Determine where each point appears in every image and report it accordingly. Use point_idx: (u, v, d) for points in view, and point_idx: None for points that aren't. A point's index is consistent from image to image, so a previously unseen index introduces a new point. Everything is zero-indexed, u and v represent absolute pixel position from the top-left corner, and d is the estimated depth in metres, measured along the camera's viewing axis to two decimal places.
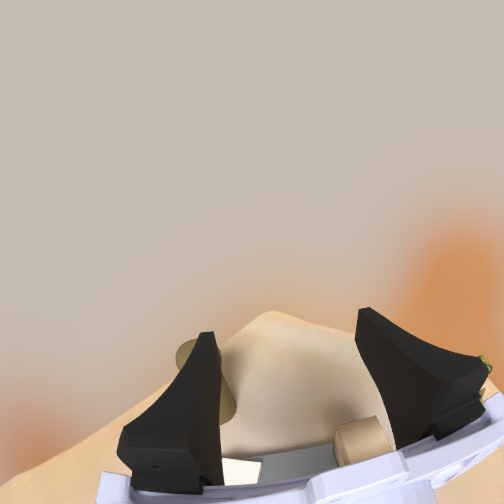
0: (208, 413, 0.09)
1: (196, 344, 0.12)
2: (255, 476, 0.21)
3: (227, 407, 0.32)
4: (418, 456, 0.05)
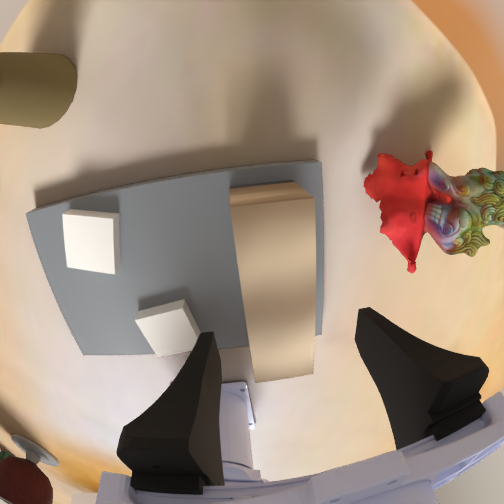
0: (208, 413, 0.09)
1: (196, 344, 0.12)
2: (110, 244, 0.17)
3: (53, 100, 0.14)
4: (418, 456, 0.05)
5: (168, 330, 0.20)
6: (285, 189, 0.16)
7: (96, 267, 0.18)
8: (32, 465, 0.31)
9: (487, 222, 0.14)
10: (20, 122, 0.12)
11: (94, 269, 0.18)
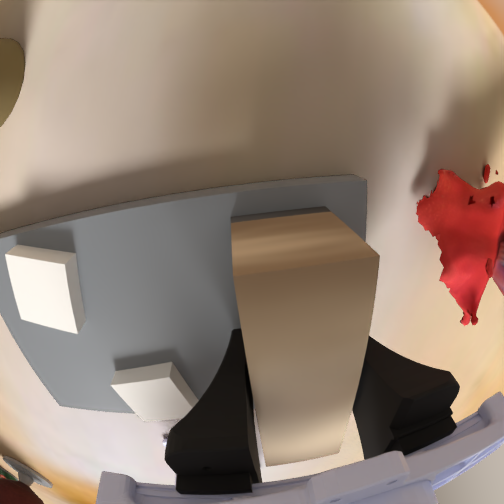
0: (249, 409, 0.09)
1: (231, 340, 0.12)
2: (65, 297, 0.11)
3: None
4: (418, 456, 0.05)
5: (153, 398, 0.15)
6: (322, 229, 0.10)
7: (54, 323, 0.12)
8: (25, 488, 0.25)
9: None
10: None
11: (52, 326, 0.12)
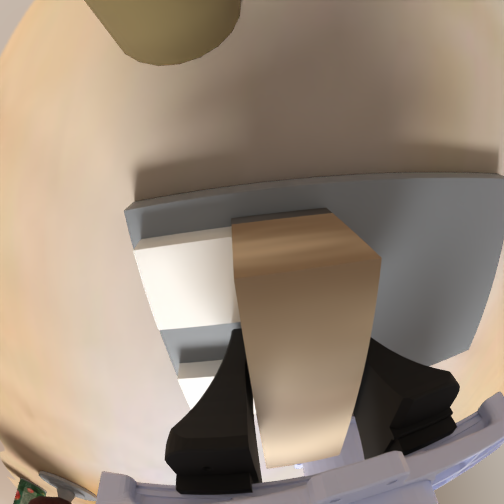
0: (250, 409, 0.09)
1: (231, 341, 0.12)
2: (232, 279, 0.12)
3: (223, 14, 0.08)
4: (418, 456, 0.05)
5: None
6: (323, 230, 0.10)
7: (211, 318, 0.12)
8: None
9: None
10: (160, 29, 0.07)
11: (207, 323, 0.12)
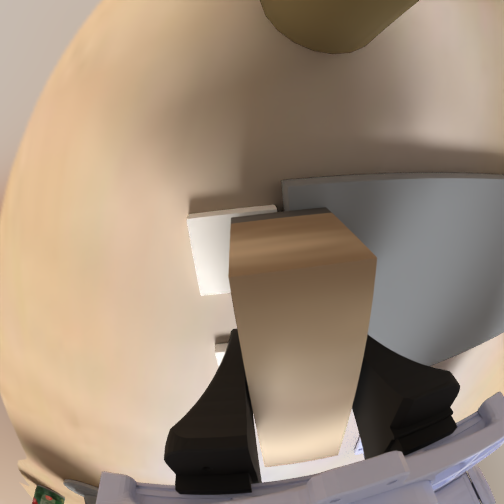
0: (249, 410, 0.09)
1: (231, 341, 0.12)
2: None
3: None
4: (418, 456, 0.05)
5: None
6: (321, 230, 0.10)
7: None
8: None
9: None
10: (364, 22, 0.07)
11: None
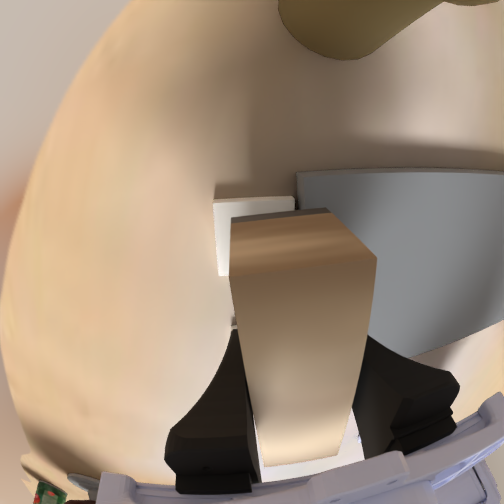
0: (249, 409, 0.09)
1: (231, 341, 0.12)
2: None
3: None
4: (418, 456, 0.05)
5: None
6: (321, 230, 0.10)
7: None
8: None
9: None
10: (372, 34, 0.08)
11: None
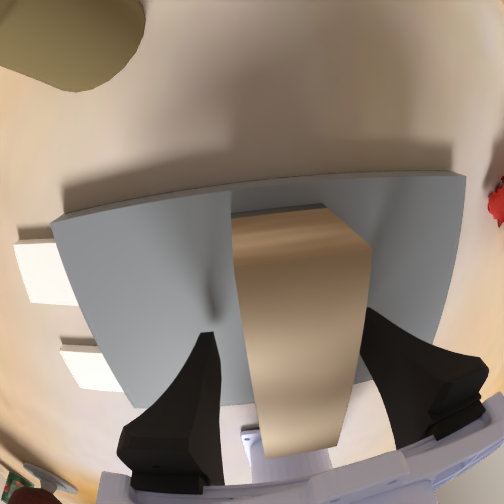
0: (208, 413, 0.09)
1: (196, 344, 0.12)
2: (65, 272, 0.14)
3: (113, 42, 0.08)
4: (418, 456, 0.05)
5: (90, 368, 0.17)
6: (318, 224, 0.10)
7: (58, 299, 0.14)
8: (50, 496, 0.26)
9: None
10: (52, 70, 0.07)
11: (56, 302, 0.14)
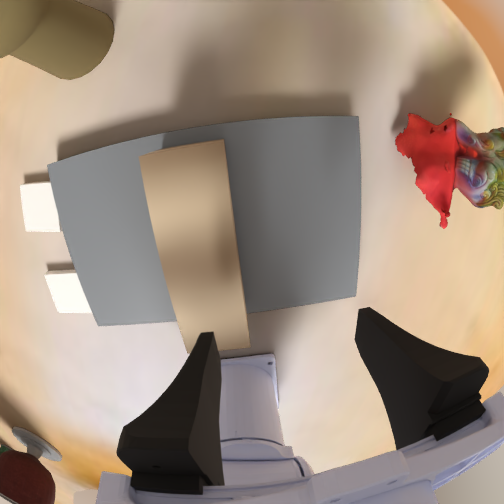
0: (208, 413, 0.09)
1: (196, 344, 0.12)
2: (54, 205, 0.18)
3: (91, 46, 0.13)
4: (418, 456, 0.05)
5: (67, 289, 0.21)
6: (206, 142, 0.15)
7: (46, 227, 0.19)
8: (34, 459, 0.30)
9: None
10: (54, 64, 0.12)
11: (45, 230, 0.19)
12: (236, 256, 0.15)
